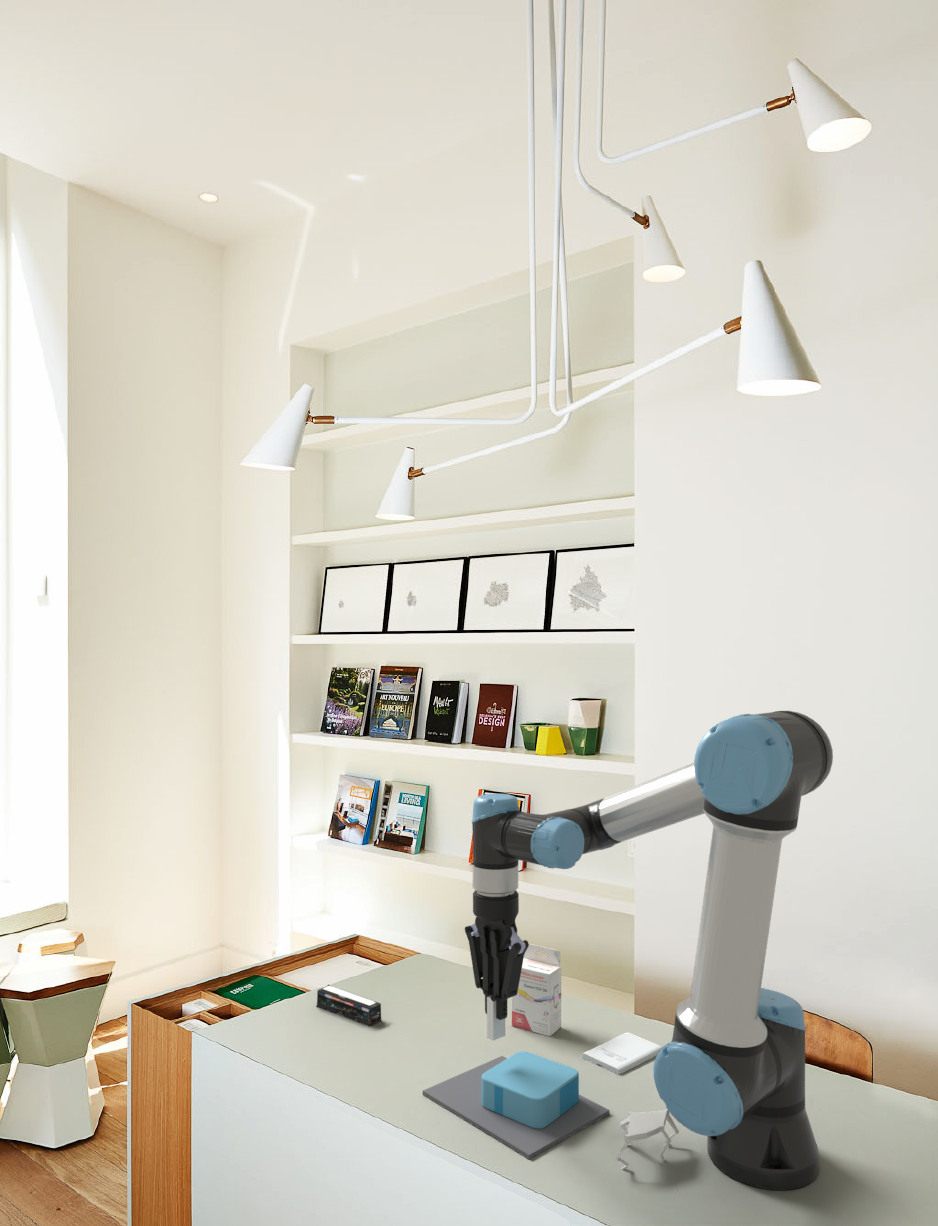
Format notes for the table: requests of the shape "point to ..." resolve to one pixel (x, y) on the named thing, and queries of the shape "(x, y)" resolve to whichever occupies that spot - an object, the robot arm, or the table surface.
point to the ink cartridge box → (538, 992)
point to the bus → (349, 1005)
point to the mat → (529, 1142)
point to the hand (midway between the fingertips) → (496, 1036)
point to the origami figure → (645, 1129)
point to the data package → (530, 1089)
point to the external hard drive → (622, 1053)
